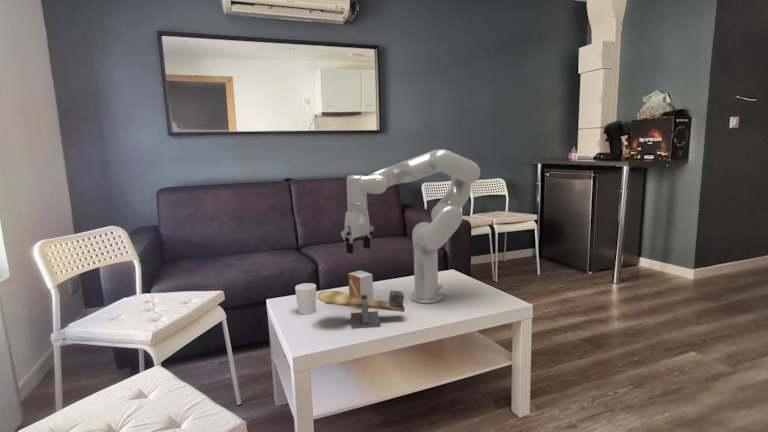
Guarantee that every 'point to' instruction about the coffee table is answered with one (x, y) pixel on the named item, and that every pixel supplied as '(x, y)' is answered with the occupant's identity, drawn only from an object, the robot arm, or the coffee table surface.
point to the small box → (360, 285)
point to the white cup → (306, 298)
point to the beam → (363, 300)
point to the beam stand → (365, 317)
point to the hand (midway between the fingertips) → (358, 250)
